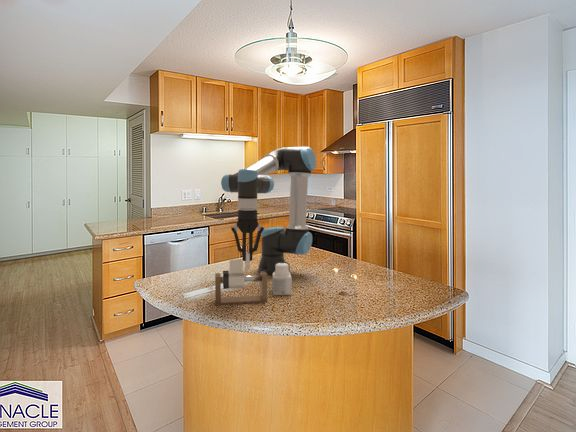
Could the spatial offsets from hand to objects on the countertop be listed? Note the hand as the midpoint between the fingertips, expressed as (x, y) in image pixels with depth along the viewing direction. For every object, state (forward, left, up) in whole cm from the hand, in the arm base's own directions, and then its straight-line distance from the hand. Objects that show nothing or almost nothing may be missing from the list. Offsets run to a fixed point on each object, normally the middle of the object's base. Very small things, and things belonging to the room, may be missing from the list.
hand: (247, 268), depth 136 cm
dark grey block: (+8, 0, -7) cm, 11 cm away
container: (-16, -8, -13) cm, 22 cm away
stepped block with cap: (+4, 0, -7) cm, 8 cm away
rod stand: (+2, 0, -13) cm, 13 cm away
